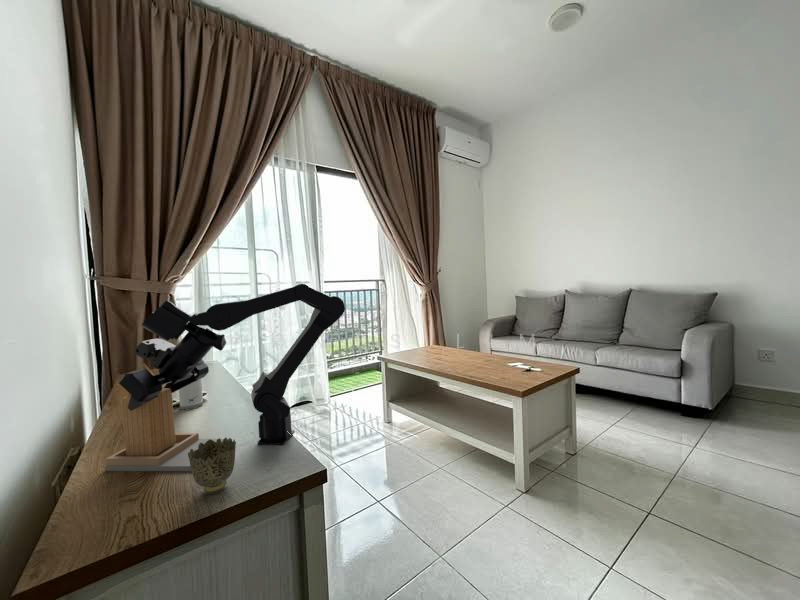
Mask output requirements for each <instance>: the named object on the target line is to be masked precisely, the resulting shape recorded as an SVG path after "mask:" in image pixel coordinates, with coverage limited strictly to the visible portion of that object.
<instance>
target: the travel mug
mask: <svg viewBox="0 0 800 600" xmlns="http://www.w3.org/2000/svg"><path fill="white" fill-rule="evenodd" d="M196 375H197V374H195V376H196ZM202 379H203V378H201V379H198V380H197V381H196V382H193V383H191V384H189V385H187V386H185V387H183V388H181V389H179V390H178V400H179V409H180V410H182V409H189V410H193V409H192V408H194V409H197V408H200V407H202V406H203V405H204V397H203V381H202ZM201 405H202V406H201ZM199 406H200V407H199Z"/></svg>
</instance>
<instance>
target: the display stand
mask: <svg viewBox="0 0 800 600" xmlns="http://www.w3.org/2000/svg"><path fill="white" fill-rule="evenodd" d="M175 437H176V442H175V444H174V445H172V446H170V447H169V448H167V449H166V450H164V451H162V452H161V453H159V454H158V455H156V456H153V457H127V456H126V448H125V447H124V448H123V449H121V450H119V451H117V452H116V453H114V454H112V455H109V456H108V457H106V458H105V461H106V462H105V463H106V464H105V465H104V471H105V472H192V470H191V466H190V461H189V457H188V453H189V452H190V449H193V450H194V451H195V450H198V447H199V446H198V445H199V443H203V444H205V443H206V442H207V441H208V440H209V439H210V440H213V441H214V442H217V439H218V438H199V437H200V436H199V432H180V433H178V432H177V433H176V432H175ZM220 439H221V441H223V440H224V438H220ZM227 439H228V440H229V438H227ZM231 440H232V441H233V438H231Z"/></svg>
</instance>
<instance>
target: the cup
mask: <svg viewBox="0 0 800 600" xmlns="http://www.w3.org/2000/svg"><path fill="white" fill-rule="evenodd" d="M208 439H209V440H208V441H207V442H206V443H205V444H203V443H199V445H198V446H199V447H198V450H195V451H194V450H193V449H190V452H189V453H188V457H189V461H190V466H191V470H192V471H191V475H192V478H193V479H194V482H195V483H196V484H197V485H199V486H200V487H203V488H202V489H203V492H204V493H205V495H215V494H219V493H220V492H222V491H224V490H225V488H226V486H227V482H228V481H227V480H228V479H229V478H230V477H231V475H232V473H233V471H234V468H235V460H236V444H237V441H236V439H232V438H231V437H229V438H227V437H225V438H223V439H224V440H223V441H221V439H222V438H220V437H219V438H216V439H217V442H214V441H213V440H210V439H211V438H208ZM228 439H229V440H228ZM231 439H232V440H231Z"/></svg>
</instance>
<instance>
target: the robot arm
mask: <svg viewBox="0 0 800 600" xmlns="http://www.w3.org/2000/svg"><path fill="white" fill-rule="evenodd" d="M298 301H300V302H302V303H304V304H306V305H308V306H309V307H311V308H313V311H312V313H311V316H310V319H309V322H308V324H307V325H306V326H305V328H304V329H303V330H302V332H301V333H300V334H299V336H298V337H297V338H296V340H295V341H294V343H292V345H291V346H290V348H289V349H288V350H287V352H286V353H285V355H284V356H283V357H282V358H281V360H280V362H279V363H278V364H277V366H276V367H275V368H274V369H273V370H272V371H271V372H269V373H268V374H267V373H266V372H265V371H262V372H261V373H260V376H259V378H258V379H257V381H256V382H255V383H253V384H252V385H251V386H252V390H251V393H250V395H251V400H252V405H253V408H254V409H255V410H256V411H257V412H258V413H260V415H259V421H258V423H257V424H258V438H259V440H258V441H257V445H285V444H286V443H287V441H288V440H289V439H290V438H291V437H292V436H293V435H294V434H295V430H294V429H292V418H291V406H290V405H289V403H288V402H287V400H286V398H285V397H284V395H285V393H286V390H287V386H288V384H289V381H290V379H292V376H293V375H294V374H295V372H296V371H297V369H298V368H299V366H300V365H301V364H302V362H303V361H304V359H305V358H306V357H307V355H308V354H309V352H310V351H311V350H312V348H313V347H314V345H315V344H316V343H317V342H318V340H319V338H320V337H321V336H322V334H323V333H324V332H325V331H326V330H327V329H328V328H330V327H331V326H333V325H334V324H335V323H336V322H337V321H338V320H339V319H340V318H341V317H342V316H343V315H344V312H345V310H346V307H345V302H344V300H343V299H341V297H338V296H333V295H328V294H326V293H323V292H321V291H319V290H316V289H315V288H311V287H310V286H309V285H307V284H305V283H297V284H295V285H293V286H291V287H287V288H284V289H280V290H276V291H274V292H270V293H266V294H264V295H261V296H260V295H259V296H257V297H254V298H250V299H246V300H239V301H230V302H222V303H215V304H213V305H211V306H210V307H208V308H207V310H206V311H204V312H200V313H197V312H195V313H194V314H193V315H191V314H189V313H188V312H186V311H185V310H183V309H181V308H179V307H178V306H176V304H174V303H173V302H172V301H170V300H165V301H164V302H163V303H162V305H160V306H158V308H156V310H154V311H152V312H151V313H150V314H149V315H148V316H147V317H146V319H144V321H143V322H142V323H141V325H140V326H141V327H142V328H144V329H145V330H147V331H149V332H151V333H153V334H154V335H157V336H158V337H160V338H157V337H156V338H152V339H146V340H143V341H140V342H139V343H138V344H137V345H136V346H135V347H134V348H135V349H134V355H135V356H136V357H139V358H142V359H148V360H150V361H152V364H151V366H152V367H153V368H155V369H157V371H158V373H157V374H155V375H154V376H153V375H152V374H151V373H150V372H149V371H148V370H147V369H141V368H139V369H137V370H133V371H130V372H126V373H124V375H122V377H121V378H120V379H119V380H118V381H119V382H118V383H119V385H121V386H122V387H123V389H124V390H125V391H127V392H128V394H129V393H130V394H131V397H130V400H129V404H128V409H129V410H130V411H132V410H134V409H136V408H138V407H140V406H142V405H143V404H145V403H147V402H149V401H151V400H153V399H155V398H156V397H158V396H157V395H158V394H159V393H160V392H161V391H162V386H163V388H170V389H171V392H172V394H173V393H175V392H177V391H179V389H181V388H183V387H185V386H187V385H189V384H191V383H193V382H196V381H197V380H198V379H201V378H202V379H203V378H205V377H206V376H207V375H208V373H209V372H210V371H209V370H210V369H209V366H208V365H207V364H206V362H205V361H204V360H203V359H204V357H206V355H208V353H209V352H210V351H211V349H212V348H214V349H216V350H219V351H223V350H224V348H225V346H226V344H227V341H226V338H225V337H226V336H225V335H226V334H224V333H223V334H219V333H216V332H214V331H224V330H228V329H229V328H231V327H233V326H235V325H238V324H239V323H241V322H243V321H245V320H247V319H248V318H250V317H252V316H254V315H257V314H260V313H263V312H266V311H270V310H273V309H276V308H279V307H282V306H283V307H284V306H286V305H289V304H292V303H295V302H298ZM202 326H207V327H208V328H204V327H202ZM211 329H212V330H214V331H212V330H211ZM185 331H187V333H185V335H184V336H183V338H182V339H181V340H180V341H179V342H178V343H177V345H175V344H173V343H171V342H169V341H170V340H176V341H177V340H178V339H180V337H181V336H182V335H183V334H184V332H185ZM195 374H197V375H196V376H195ZM287 431H288V432H289V433H290V434H291V435H292V436H291V435H290V434H289V433H288V432H287Z"/></svg>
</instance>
